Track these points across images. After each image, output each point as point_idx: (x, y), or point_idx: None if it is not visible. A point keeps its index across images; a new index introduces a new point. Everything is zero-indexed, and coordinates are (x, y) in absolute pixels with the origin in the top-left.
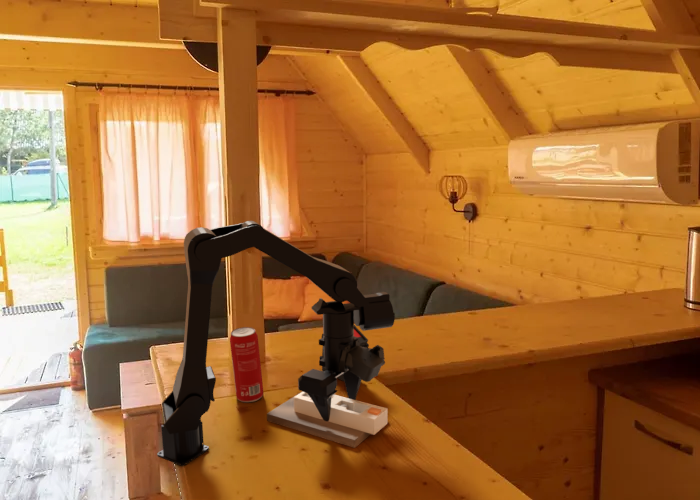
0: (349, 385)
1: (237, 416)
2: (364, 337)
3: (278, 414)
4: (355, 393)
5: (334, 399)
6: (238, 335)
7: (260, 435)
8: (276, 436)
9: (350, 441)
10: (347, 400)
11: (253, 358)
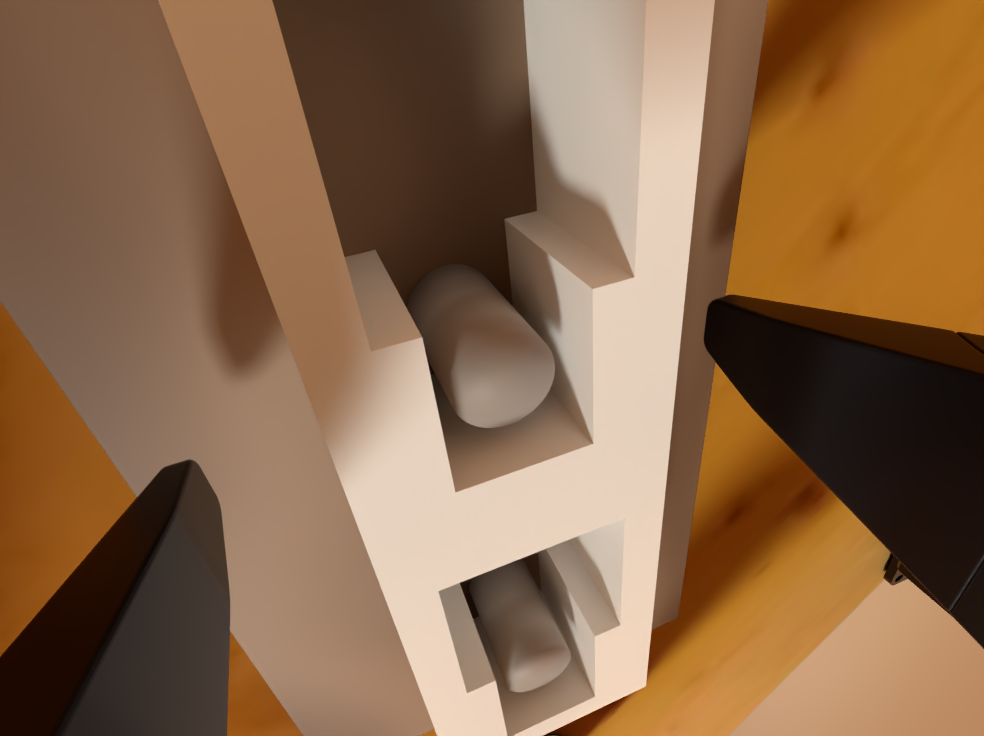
0: (192, 723)
1: (674, 653)
2: None
3: (660, 590)
4: (161, 543)
5: (494, 540)
6: None
7: (777, 487)
8: (762, 441)
9: None
10: (409, 446)
11: None
